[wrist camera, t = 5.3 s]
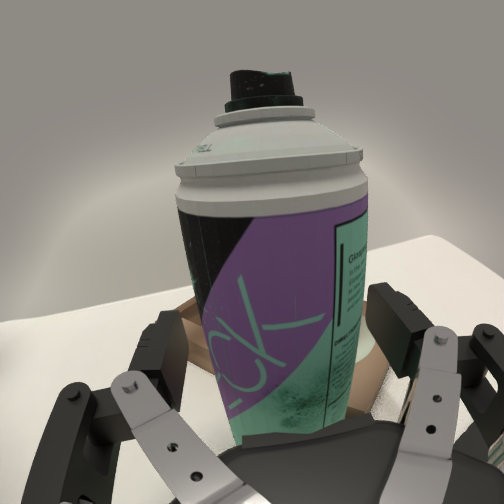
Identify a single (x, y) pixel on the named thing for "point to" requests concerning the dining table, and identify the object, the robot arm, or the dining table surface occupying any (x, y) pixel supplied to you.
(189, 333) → the walnut tray
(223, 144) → the spray can
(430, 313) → the dining table surface
